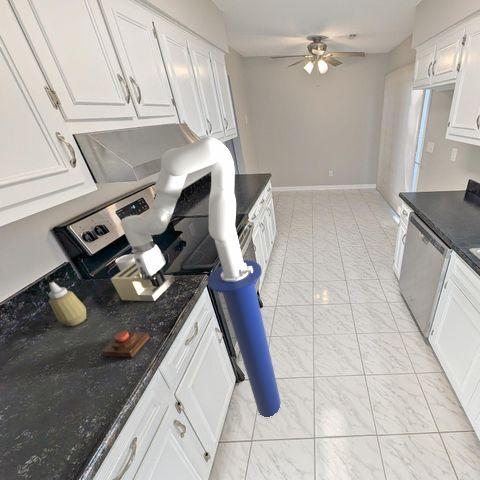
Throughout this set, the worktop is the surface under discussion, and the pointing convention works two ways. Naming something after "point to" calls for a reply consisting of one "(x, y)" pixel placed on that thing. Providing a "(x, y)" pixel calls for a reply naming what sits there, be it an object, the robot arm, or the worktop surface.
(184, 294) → the worktop surface
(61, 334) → the worktop surface
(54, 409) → the worktop surface
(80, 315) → the squeeze bottle
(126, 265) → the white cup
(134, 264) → the toaster
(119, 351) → the base
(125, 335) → the timer button
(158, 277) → the toaster slider
